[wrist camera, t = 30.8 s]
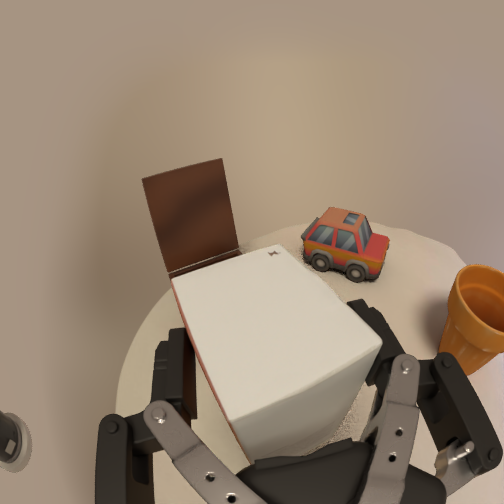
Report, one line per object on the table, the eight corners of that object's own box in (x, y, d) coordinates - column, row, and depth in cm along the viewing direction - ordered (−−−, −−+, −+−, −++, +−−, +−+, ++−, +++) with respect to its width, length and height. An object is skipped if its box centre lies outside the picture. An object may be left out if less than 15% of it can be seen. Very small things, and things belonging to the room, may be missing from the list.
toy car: (376, 289, 46) (388, 244, 41) (297, 265, 55) (298, 221, 49) (387, 257, 54) (395, 216, 49) (318, 238, 62) (320, 199, 57)
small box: (214, 396, 20) (167, 275, 13) (282, 368, 22) (281, 239, 15) (256, 478, 14) (226, 424, 7) (333, 440, 16) (389, 337, 9)
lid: (222, 158, 40) (220, 158, 40) (141, 178, 35) (141, 178, 36) (239, 247, 46) (237, 246, 47) (168, 272, 42) (167, 270, 42)
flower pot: (420, 384, 29) (461, 325, 22) (425, 316, 39) (450, 255, 32) (491, 395, 23) (539, 341, 16) (486, 329, 33) (517, 273, 26)
